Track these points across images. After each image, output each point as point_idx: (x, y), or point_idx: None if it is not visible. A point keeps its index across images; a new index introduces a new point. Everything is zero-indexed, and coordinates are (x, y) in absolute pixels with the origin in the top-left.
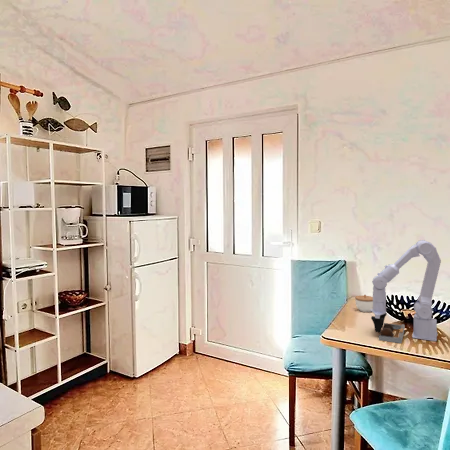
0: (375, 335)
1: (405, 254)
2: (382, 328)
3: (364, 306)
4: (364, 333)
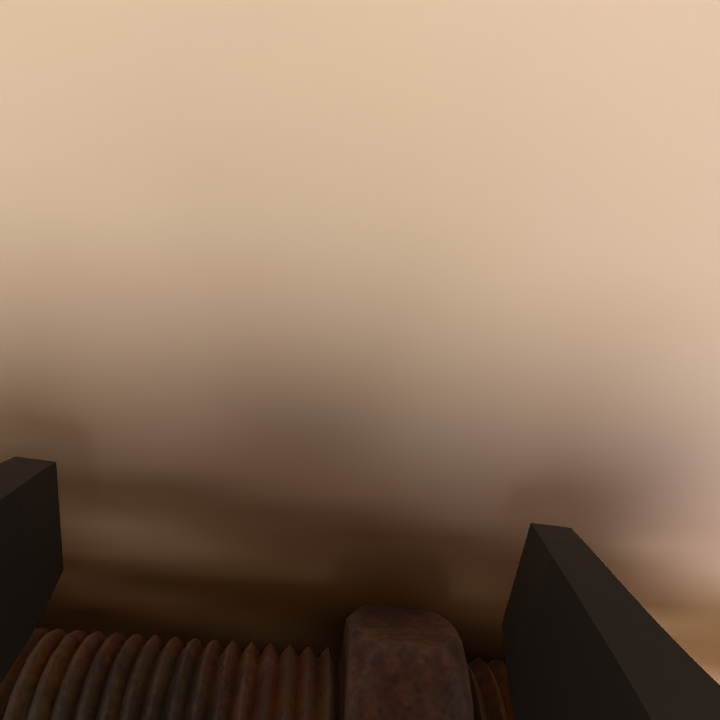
0: (15, 403)
1: None
2: (368, 643)
3: None
4: (25, 89)
